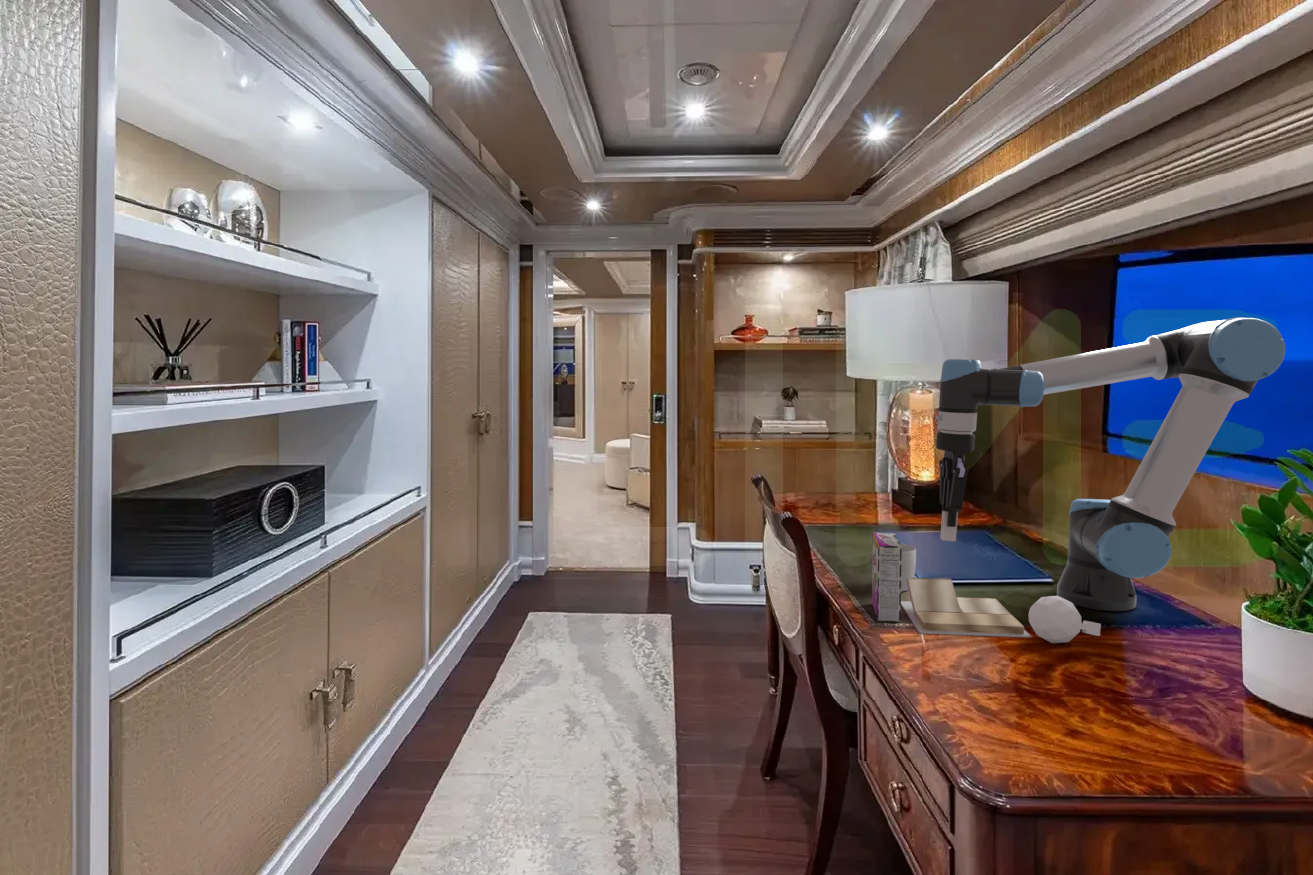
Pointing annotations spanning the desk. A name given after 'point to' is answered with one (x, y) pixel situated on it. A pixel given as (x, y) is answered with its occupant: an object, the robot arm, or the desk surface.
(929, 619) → the laid plank
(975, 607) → the panel
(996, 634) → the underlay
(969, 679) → the desk surface
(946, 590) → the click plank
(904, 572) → the mug
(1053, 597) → the perfume bottle
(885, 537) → the candy bar box
